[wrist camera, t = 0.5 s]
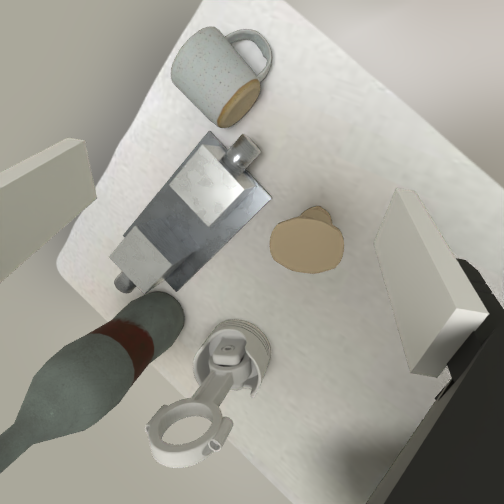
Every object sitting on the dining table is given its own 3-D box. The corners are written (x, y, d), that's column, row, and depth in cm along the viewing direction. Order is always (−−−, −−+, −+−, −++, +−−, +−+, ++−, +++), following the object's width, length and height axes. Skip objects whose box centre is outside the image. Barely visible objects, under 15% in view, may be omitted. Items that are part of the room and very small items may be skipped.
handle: (339, 238, 42) (339, 277, 28) (291, 233, 43) (267, 267, 29) (345, 201, 40) (347, 223, 27) (294, 197, 42) (271, 215, 28)
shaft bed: (291, 178, 41) (282, 182, 35) (165, 303, 52) (141, 322, 46) (227, 110, 41) (208, 101, 35) (113, 248, 52) (82, 260, 45)
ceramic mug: (231, 135, 42) (210, 129, 35) (188, 90, 42) (157, 74, 35) (289, 67, 38) (279, 44, 31) (242, 16, 38) (220, -18, 31)
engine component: (273, 378, 50) (267, 320, 48) (232, 511, 31) (220, 426, 29) (209, 373, 53) (200, 318, 51) (136, 491, 34) (117, 412, 32)
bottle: (154, 276, 51) (-72, 416, 23) (198, 313, 51) (24, 500, 23) (128, 315, 54) (-95, 478, 26) (169, 350, 54) (-12, 551, 26)
